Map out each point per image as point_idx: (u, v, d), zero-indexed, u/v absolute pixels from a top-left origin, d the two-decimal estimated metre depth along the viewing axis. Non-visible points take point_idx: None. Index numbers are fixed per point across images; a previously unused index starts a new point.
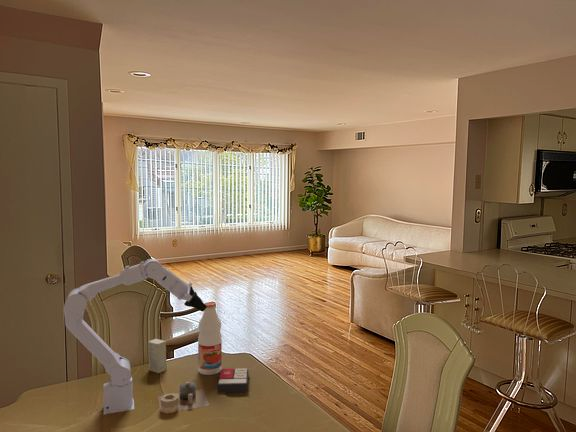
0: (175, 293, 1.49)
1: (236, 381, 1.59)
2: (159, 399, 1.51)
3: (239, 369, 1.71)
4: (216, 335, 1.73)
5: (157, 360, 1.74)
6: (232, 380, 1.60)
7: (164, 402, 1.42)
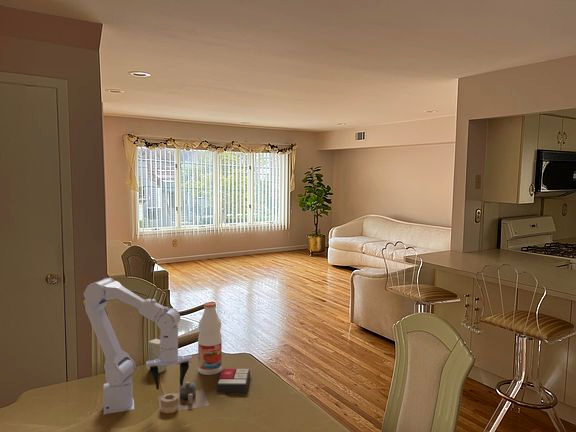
0: None
1: (235, 381, 1.59)
2: (159, 399, 1.51)
3: (240, 369, 1.70)
4: (216, 335, 1.73)
5: None
6: (232, 380, 1.60)
7: (164, 402, 1.42)
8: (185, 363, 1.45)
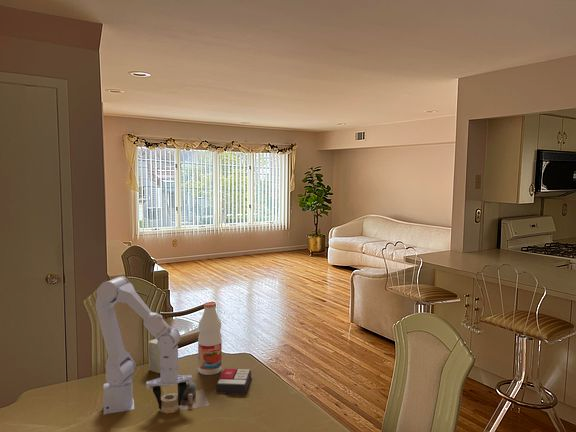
0: None
1: (235, 382, 1.59)
2: None
3: (241, 370, 1.70)
4: (216, 335, 1.73)
5: (157, 360, 1.74)
6: (231, 380, 1.60)
7: (164, 402, 1.42)
8: (185, 383, 1.45)
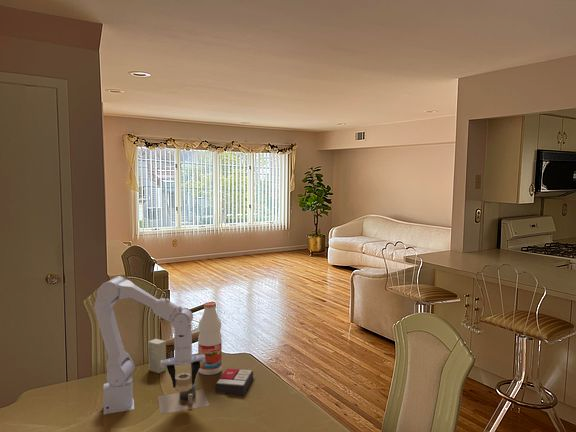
0: None
1: (234, 382, 1.58)
2: (159, 399, 1.51)
3: (243, 370, 1.70)
4: (216, 335, 1.73)
5: (157, 360, 1.74)
6: (231, 381, 1.59)
7: (178, 381, 1.43)
8: (199, 362, 1.47)
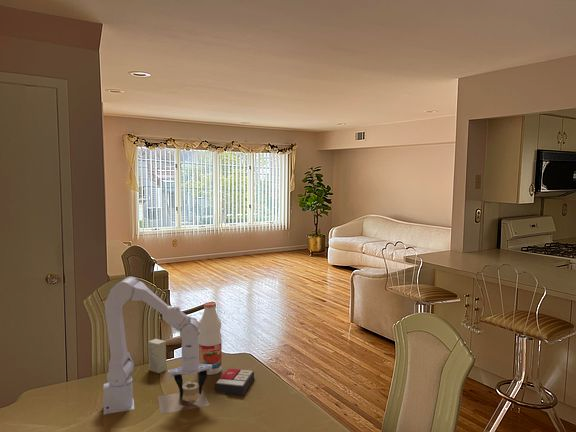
0: None
1: (234, 383, 1.58)
2: (159, 399, 1.51)
3: (244, 371, 1.69)
4: (216, 335, 1.73)
5: (157, 360, 1.74)
6: (230, 381, 1.59)
7: (185, 390, 1.45)
8: (206, 371, 1.48)
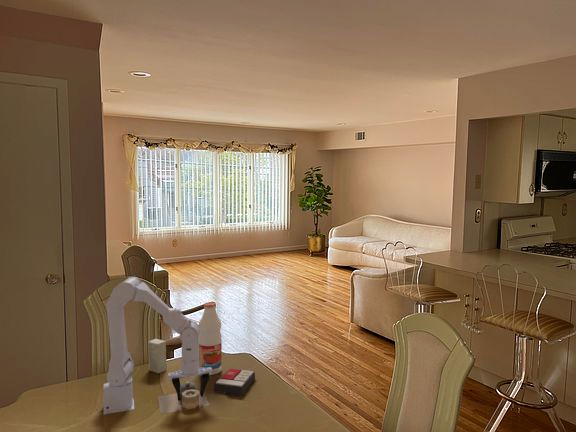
0: None
1: (233, 383, 1.58)
2: (159, 399, 1.51)
3: (245, 371, 1.69)
4: (216, 335, 1.73)
5: (157, 360, 1.74)
6: (230, 381, 1.59)
7: (185, 398, 1.45)
8: (206, 375, 1.48)
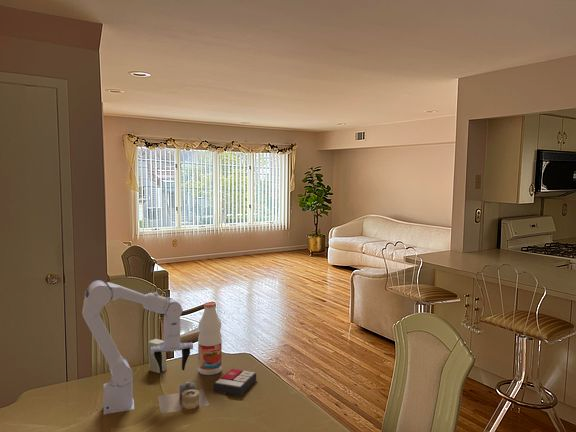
0: None
1: (232, 383, 1.58)
2: (159, 399, 1.51)
3: (246, 372, 1.68)
4: (216, 335, 1.73)
5: None
6: (229, 381, 1.59)
7: (185, 398, 1.45)
8: (187, 349, 1.55)
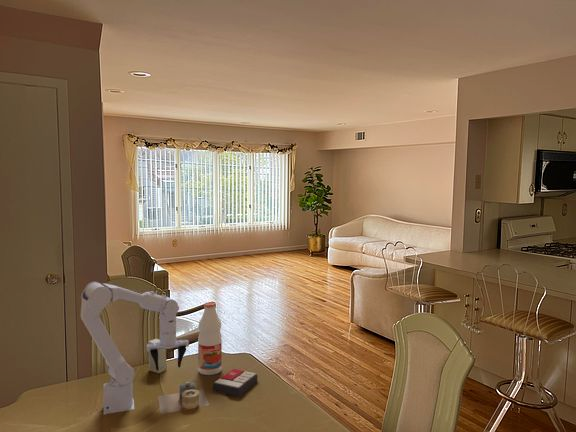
0: None
1: (231, 383, 1.57)
2: (159, 399, 1.51)
3: (247, 372, 1.68)
4: (216, 335, 1.73)
5: None
6: (229, 382, 1.59)
7: (185, 398, 1.45)
8: (183, 346, 1.57)
